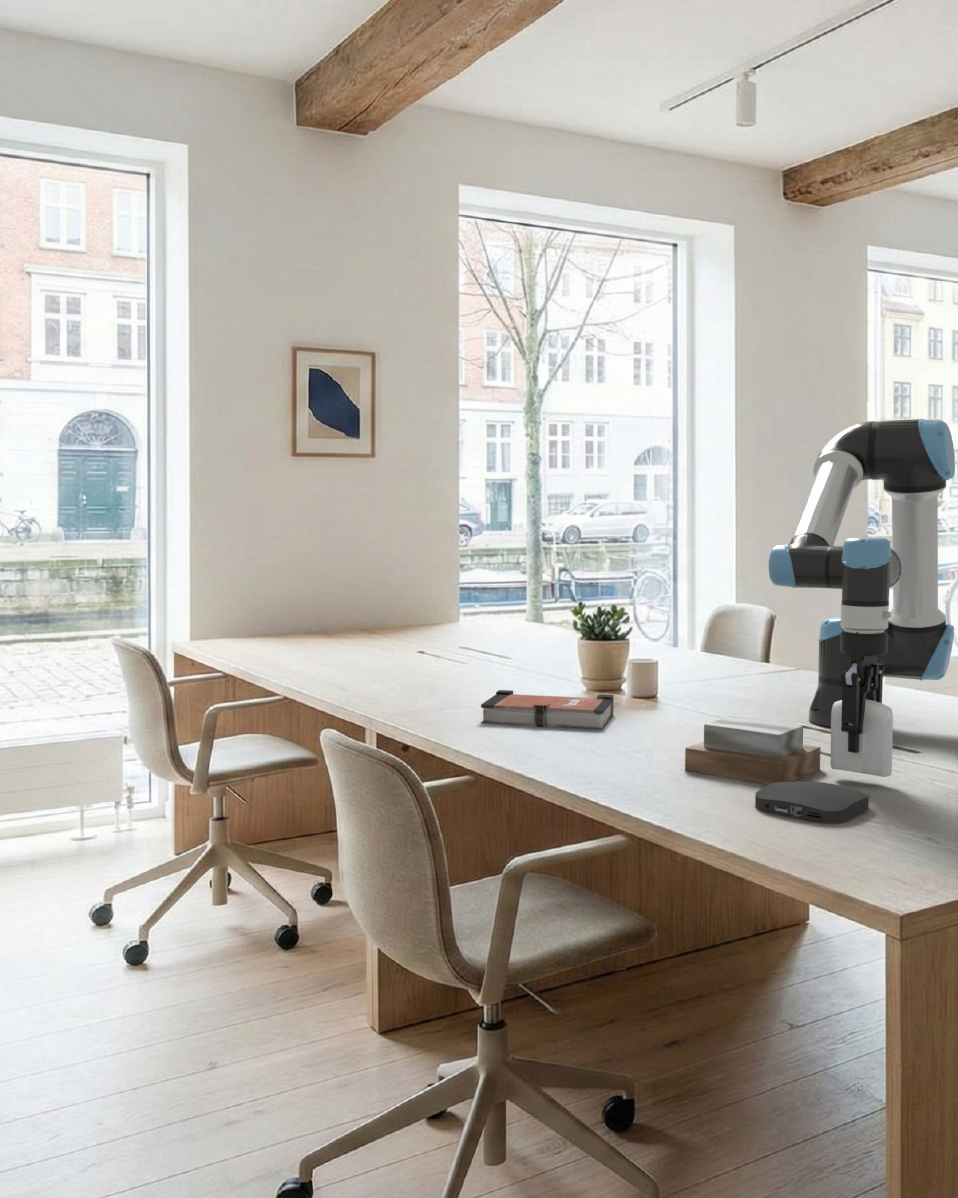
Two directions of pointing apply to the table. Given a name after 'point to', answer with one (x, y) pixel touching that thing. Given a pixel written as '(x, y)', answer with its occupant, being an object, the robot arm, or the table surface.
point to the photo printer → (876, 739)
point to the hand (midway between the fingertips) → (860, 767)
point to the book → (548, 710)
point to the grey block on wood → (753, 751)
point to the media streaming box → (812, 801)
